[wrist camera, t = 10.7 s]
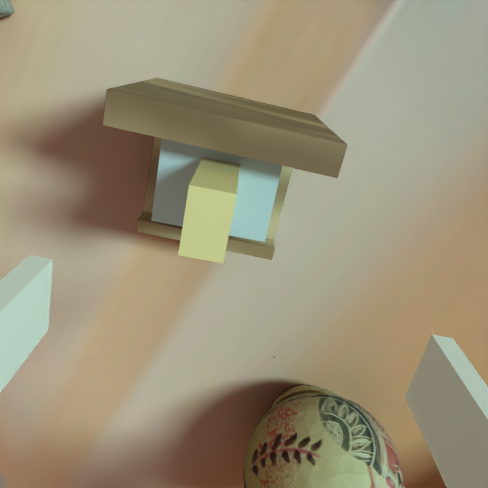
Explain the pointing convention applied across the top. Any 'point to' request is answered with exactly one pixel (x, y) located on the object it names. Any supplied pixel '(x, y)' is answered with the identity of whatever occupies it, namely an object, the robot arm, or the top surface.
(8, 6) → the skincare box
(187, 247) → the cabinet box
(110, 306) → the top surface
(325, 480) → the ceramic jug
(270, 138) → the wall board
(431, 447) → the robot arm
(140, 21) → the top surface
